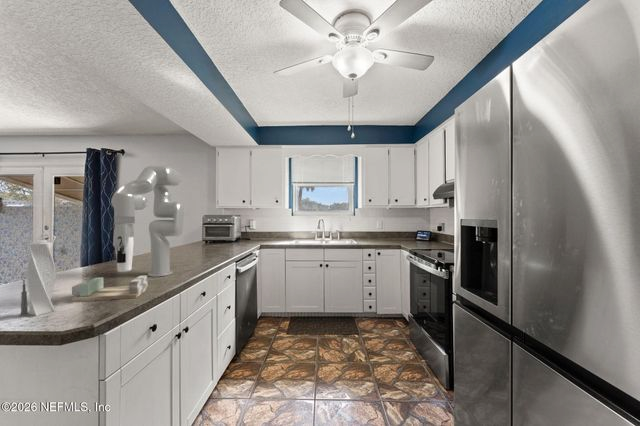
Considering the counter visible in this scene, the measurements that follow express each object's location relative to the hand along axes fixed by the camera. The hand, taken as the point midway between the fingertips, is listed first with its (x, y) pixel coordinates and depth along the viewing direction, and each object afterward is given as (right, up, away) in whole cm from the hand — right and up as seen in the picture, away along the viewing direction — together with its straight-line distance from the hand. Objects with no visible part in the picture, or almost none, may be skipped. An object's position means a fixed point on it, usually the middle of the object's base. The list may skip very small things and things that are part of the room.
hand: (124, 261), depth 128 cm
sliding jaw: (-14, -13, -3) cm, 19 cm away
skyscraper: (-15, -15, -23) cm, 31 cm away
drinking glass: (0, -5, 0) cm, 5 cm away
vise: (-4, -15, -1) cm, 15 cm away
